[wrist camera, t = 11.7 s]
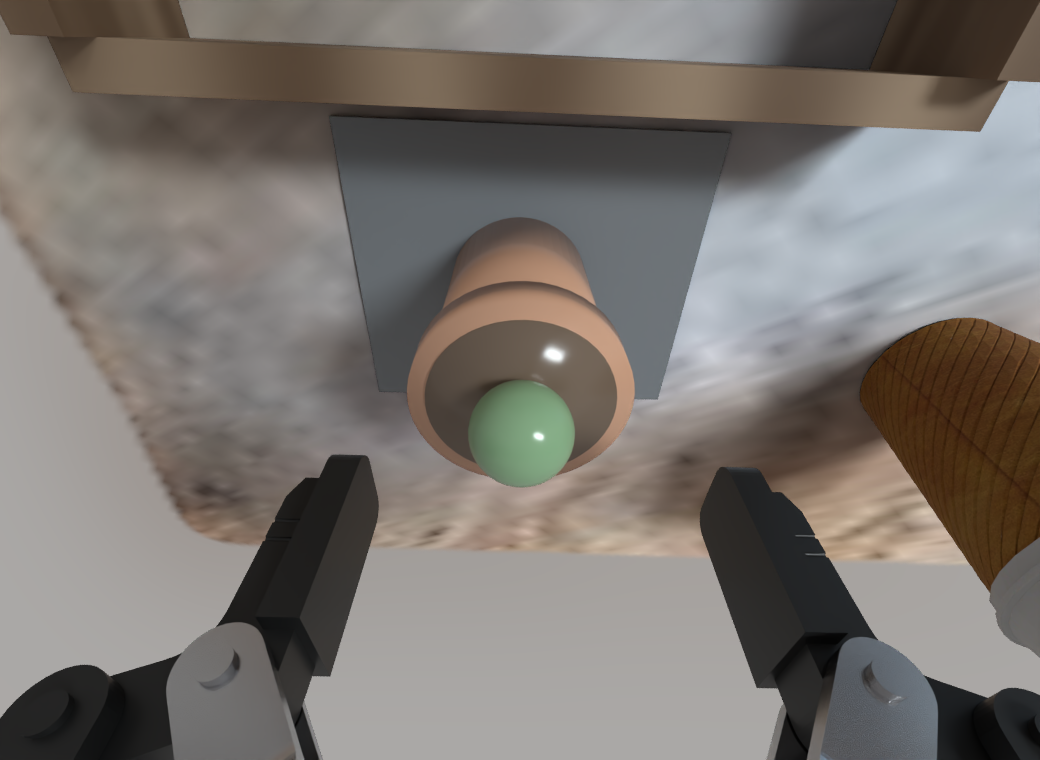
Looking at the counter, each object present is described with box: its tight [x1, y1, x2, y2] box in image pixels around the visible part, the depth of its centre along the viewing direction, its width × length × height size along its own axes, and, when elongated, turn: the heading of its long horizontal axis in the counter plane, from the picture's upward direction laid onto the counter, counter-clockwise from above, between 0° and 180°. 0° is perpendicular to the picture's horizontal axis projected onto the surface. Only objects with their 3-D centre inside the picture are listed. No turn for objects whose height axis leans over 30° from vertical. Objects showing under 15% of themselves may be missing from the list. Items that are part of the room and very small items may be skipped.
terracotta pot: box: [407, 217, 635, 487], centre depth 15 cm, size 6×6×11 cm
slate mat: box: [329, 116, 731, 400], centre depth 20 cm, size 14×12×1 cm
